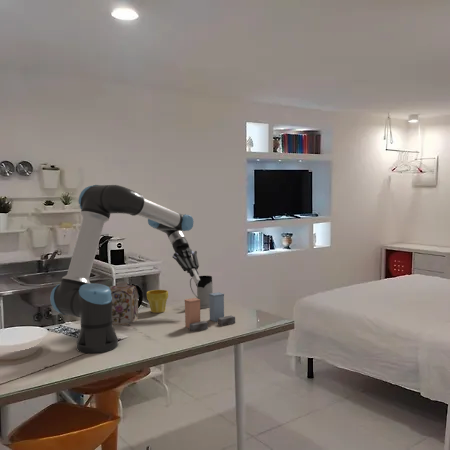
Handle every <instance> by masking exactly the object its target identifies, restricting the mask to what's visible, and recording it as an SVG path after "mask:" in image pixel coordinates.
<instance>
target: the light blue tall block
mask: <svg viewBox="0 0 450 450" xmlns="http://www.w3.org/2000/svg"><path fill="white" fill-rule="evenodd" d="M209 303H210V308H209V320H210V321H213V322H218V318H221V317H225V293H223V292H219V291H218V292H213V293H211V294H209Z"/></svg>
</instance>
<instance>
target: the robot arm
mask: <svg viewBox="0 0 450 450" xmlns="http://www.w3.org/2000/svg"><path fill="white" fill-rule="evenodd" d="M78 204H79V209H80V215H81V216H82V220H81V225H80V228H79V232H78V235H77V238H76V242H75V244H74V245H75V246H74V248H73V249H74V250H73V251H72V255H71V260H70V263H69V267H68V269H67V273H66V274H65V275H64V276H62V278H61V279H60V282H59V284H57V285H56V286H55V287H53V288H52V290H51V292H50V297H49V299H50V304H51V305H50V306H52V309H53V310H54V311H55V312H57V313H59V314H62V315H65V316H69V317H70V316H71V317H75V318H80V330H79V333H78V337H77V340H76V350H77V349H78V350H79V351H78V350H77V351H78V352H80V351H81V353H83V352H84V353H85V354H99V353H105V352H109V351H112V350H114V349H116V348H117V347H118V345H119V343H118V342H119V341H118V340H119V339H118V337H117V334H116V332H115V328H114V325H112V296H111V290H110V287H109V286H108V285H106V284H103V283H94V282H93V283H91V282H90V276H91V272H92V269H93V265H94V261H95V257H96V253H97V251H98V247H99V243H100V239H101V236H102V233H103V229H104V224H105V223H107V222H109V221H110V217H111V214H123V215H125V214H126V215H130V216H134V217H135V216H139V217H142V218H144V219H147V223H148V225H149V227H151V228H153V229H155V230H158V231H160V232H162V233H165V235H167V237H168V240H169V242H170V244H171V247H172V248H173V251H174V253H173V255H172V258H173V259H174V260H175V261H176V263H177V264H178V265H179V266H180V268H181V269H182V270H183V271H184V272H187V274H189V277H191V278H193V282H194V283H195V284H196V283H198V282H199V281H200V278H199V276H200V275H199V272H198V269H199V267H200V263H199V260H198V255H197V254H198V252H197V250H194V251H193V250H192V249H191V248H190V244H189V242H188V240H187V238H186V236H185V234H184V232H189V231H191V230H192V229H193V227H194V218H193V216H192V215H190V214H186V213H185V214H182V213H179V212H176V211H174V210H172V209H169V208H168V207H166V206H164V205H163V206H162V205H161V204H158V203H156V202H154V201H151V200H149V199H147V198H145V197H144V195H143V194H141V193H139V192H137V191H135V190H132V189H130V188H127V187H125V186H122V185H118V184H103V185H101V184H95V185H89V186H88V185H87V186H86V187H85V188H83V189H82V190H81V191H80V194H79V197H78Z"/></svg>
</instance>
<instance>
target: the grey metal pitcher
mask: <svg viewBox="0 0 450 450" xmlns="http://www.w3.org/2000/svg"><path fill="white" fill-rule="evenodd" d="M198 276H199V278H200V281H199V282H198V283H195V286H196V293H195V292H194V290H193V287H192V279H193V277H191V278H190V279H189V287H190V291H191V293H192V294H193V295H194V297H195V298H197V299H200V309H210V303H209V294H211V293H214V291H213V290H214V287H213V286H214V285H213V276H211V275H198ZM193 280H194V279H193Z"/></svg>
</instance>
